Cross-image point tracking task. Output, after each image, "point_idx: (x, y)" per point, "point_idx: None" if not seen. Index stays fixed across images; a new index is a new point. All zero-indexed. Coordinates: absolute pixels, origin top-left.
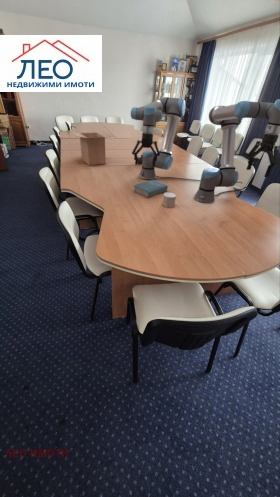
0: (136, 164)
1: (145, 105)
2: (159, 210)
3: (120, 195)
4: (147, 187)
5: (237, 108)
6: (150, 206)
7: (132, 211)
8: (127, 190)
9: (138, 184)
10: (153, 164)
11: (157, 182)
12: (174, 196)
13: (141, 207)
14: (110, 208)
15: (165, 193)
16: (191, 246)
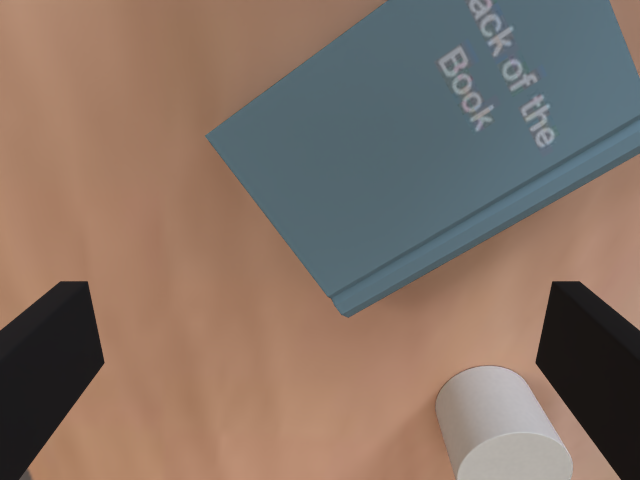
0: (86, 373)
1: None
2: (381, 469)
3: (88, 218)
4: (366, 213)
5: None
6: (332, 418)
7: (193, 469)
8: (155, 87)
9: (269, 110)
10: (553, 326)
11: (569, 29)
12: None
13: (261, 427)
14: None
15: (485, 451)
16: None
